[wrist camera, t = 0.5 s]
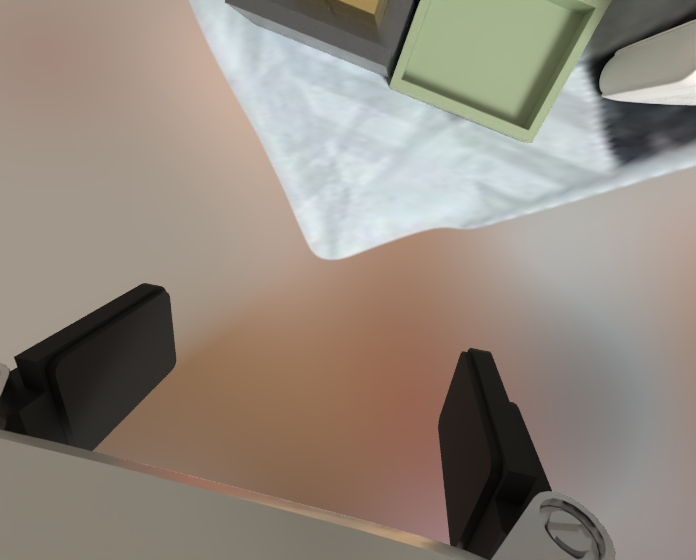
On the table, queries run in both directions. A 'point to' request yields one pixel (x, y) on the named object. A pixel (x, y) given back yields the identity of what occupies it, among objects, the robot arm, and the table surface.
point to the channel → (334, 29)
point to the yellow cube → (361, 10)
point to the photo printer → (654, 69)
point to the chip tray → (495, 58)
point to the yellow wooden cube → (321, 3)
